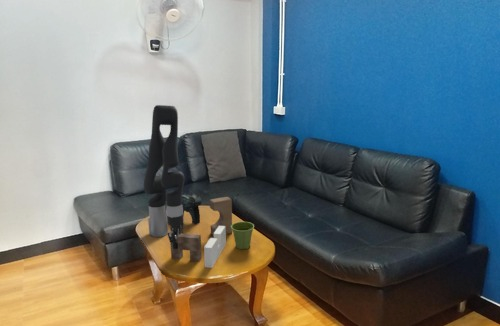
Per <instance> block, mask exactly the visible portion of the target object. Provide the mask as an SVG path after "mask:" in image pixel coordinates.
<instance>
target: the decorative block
mask: <svg viewBox="0 0 500 326" xmlns="http://www.w3.org/2000/svg"><path fill="white" fill-rule="evenodd" d="M209 208H210V209H211V210H212V211H213V212H218V213H219V218H218V219H217V221H216V222H215V223H213V224H211V225H210V234H211V235H212V236H213V237H214V232H215V231H216V229H217V228H218V226H226V235H228V234H232V233H233V230H232V228H231V225H232V224H233V200H232V199H231V197H229V196H223V197H216V198H211V199H209Z"/></svg>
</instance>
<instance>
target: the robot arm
mask: <svg viewBox="0 0 500 326" xmlns="http://www.w3.org/2000/svg"><path fill="white" fill-rule="evenodd" d="M151 121H152V124H151V136H150V142H149V143H150V144H149V147H148V148H149V150H148V157H147V159H148V160H147V165H146V166H147V167H146V171H145V175H144V180H143V191H144V192H145V194H147V195H153V196H152V197H151V198H149V200H148V203H147V204H148V214H149V217H148V219H147V222H148V234H149V236H151V237H154V238H160V237H165V236H167V237H168V241H169V244H170V243H173V249H178V243H177V237H178V236H179V234H181V233H183V234H184V225H185V224H184V223H185V221H184V219H185V218H184V217H183V206H182V195H183V189H184V185H185V175H184V173H183V171H171V172H169V171H170V170H171V169H174V168H178V166H179V165H180V162H179V152H178V134H179V132H178V130H179V128H178V127H179V126H178V125H179V123H178V122H179V115H178V109H177V107H176V106H174V105H167V104H166V105H163V104H161V105H160V104H156V105H155V106H154V108H153V110H152V120H151ZM161 126H170V131H169V133H168V136H167V138H166V139H165V138H164V136H163V134H162V132H161V128H160V127H161ZM161 168H162V173H161V174H159V175H157V174H158V172H159V171H160V169H161ZM169 188H170V189H171V188H175V189H173V190H171V191H168V192H167V189H169ZM168 226H170V229H169V230H170V232H169V230H168V228H169V227H168ZM175 238H176V240H175Z"/></svg>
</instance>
